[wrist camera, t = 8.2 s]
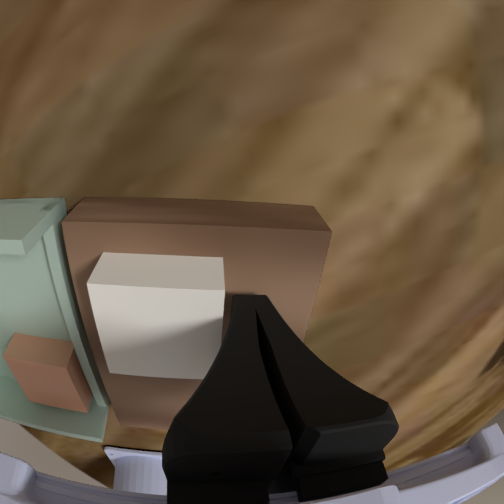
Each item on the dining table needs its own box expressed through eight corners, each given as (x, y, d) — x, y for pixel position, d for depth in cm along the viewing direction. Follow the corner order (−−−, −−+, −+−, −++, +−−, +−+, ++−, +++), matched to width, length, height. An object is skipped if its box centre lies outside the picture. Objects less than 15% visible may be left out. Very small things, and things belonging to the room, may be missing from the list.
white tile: (217, 344, 14) (218, 379, 12) (118, 339, 13) (109, 373, 11) (222, 257, 12) (225, 290, 10) (102, 252, 11) (86, 283, 9)
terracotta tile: (93, 388, 18) (87, 412, 16) (37, 379, 17) (29, 401, 15) (75, 341, 16) (66, 367, 14) (14, 332, 15) (2, 355, 13)
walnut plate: (269, 399, 21) (275, 428, 18) (125, 395, 19) (120, 425, 17) (313, 206, 14) (332, 231, 12) (84, 197, 12) (61, 221, 10)
